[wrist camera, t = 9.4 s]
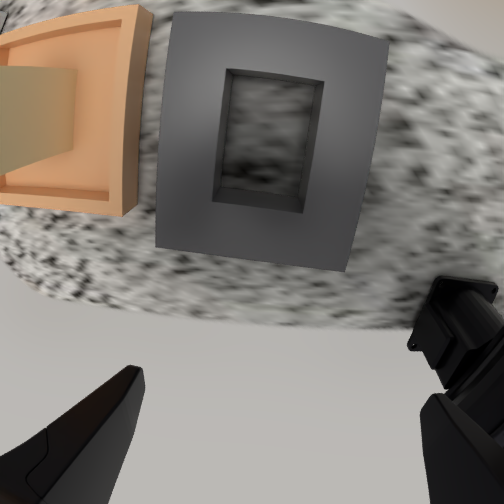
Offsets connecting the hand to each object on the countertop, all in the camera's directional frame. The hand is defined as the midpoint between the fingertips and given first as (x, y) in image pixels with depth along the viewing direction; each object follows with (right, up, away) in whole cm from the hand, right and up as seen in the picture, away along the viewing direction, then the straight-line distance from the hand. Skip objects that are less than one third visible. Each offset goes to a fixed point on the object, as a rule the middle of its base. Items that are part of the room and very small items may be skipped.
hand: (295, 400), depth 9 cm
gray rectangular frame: (0, +10, +8) cm, 13 cm away
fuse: (-13, +13, +7) cm, 20 cm away
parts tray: (-13, +13, +8) cm, 20 cm away
